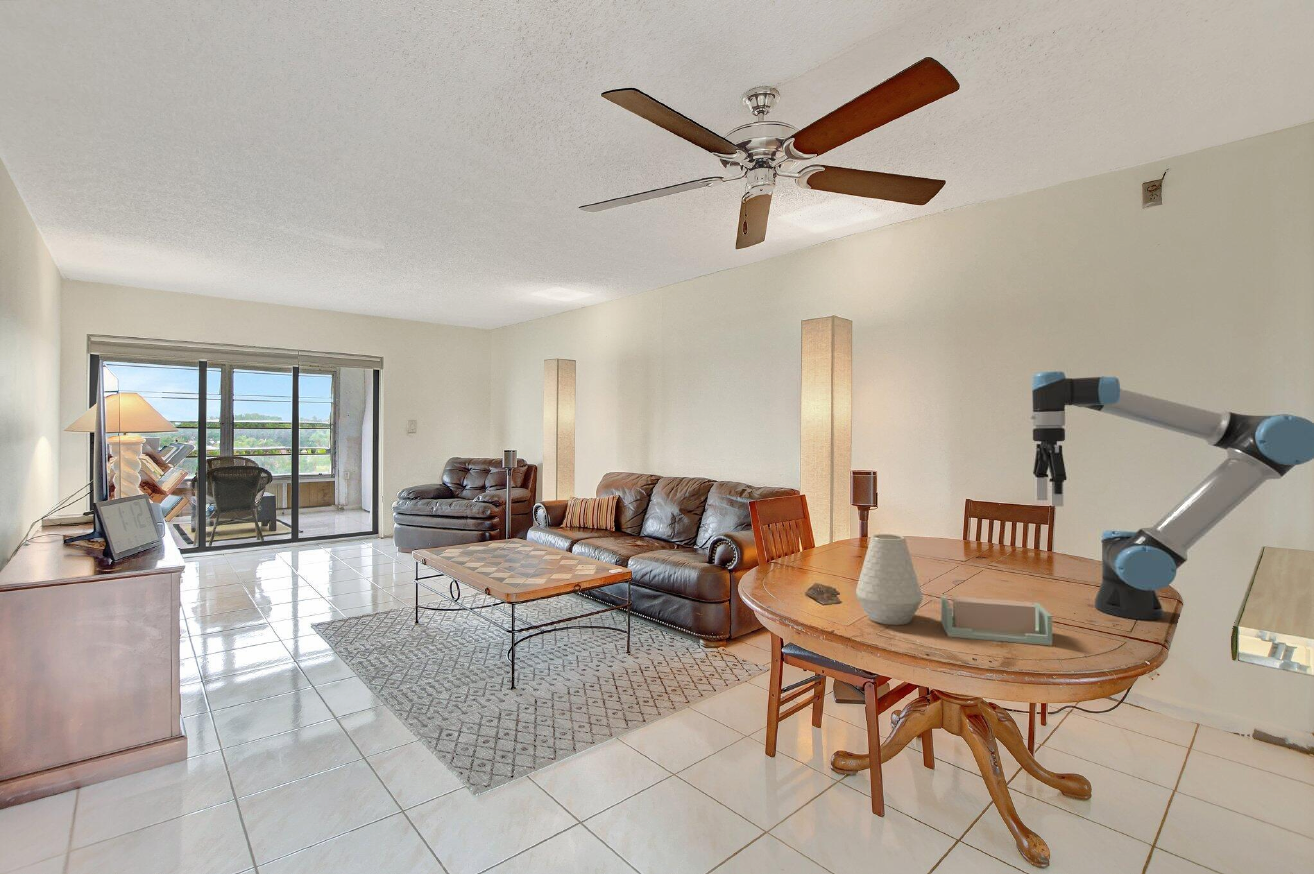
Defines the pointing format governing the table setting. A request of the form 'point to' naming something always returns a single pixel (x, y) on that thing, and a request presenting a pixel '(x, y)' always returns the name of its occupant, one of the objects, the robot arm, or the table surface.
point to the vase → (888, 581)
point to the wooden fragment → (823, 594)
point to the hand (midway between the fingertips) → (1049, 503)
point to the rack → (1041, 636)
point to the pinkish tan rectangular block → (994, 615)
